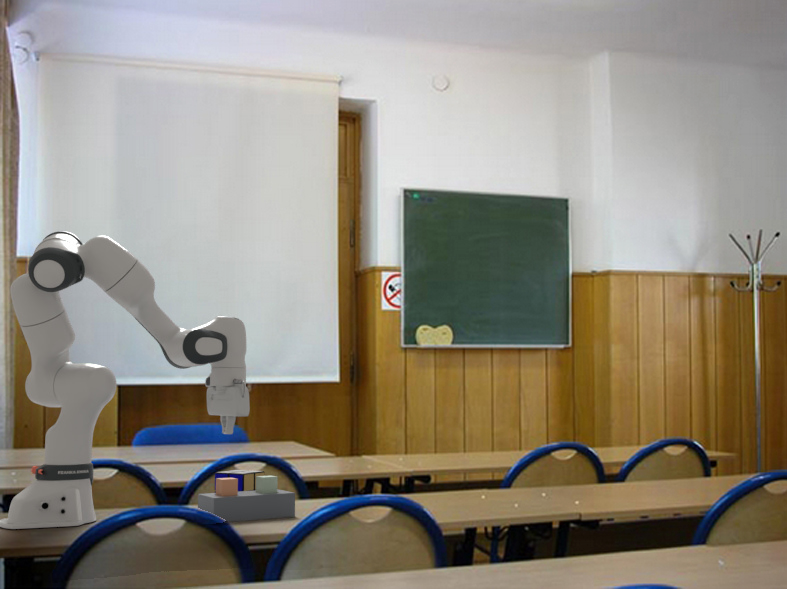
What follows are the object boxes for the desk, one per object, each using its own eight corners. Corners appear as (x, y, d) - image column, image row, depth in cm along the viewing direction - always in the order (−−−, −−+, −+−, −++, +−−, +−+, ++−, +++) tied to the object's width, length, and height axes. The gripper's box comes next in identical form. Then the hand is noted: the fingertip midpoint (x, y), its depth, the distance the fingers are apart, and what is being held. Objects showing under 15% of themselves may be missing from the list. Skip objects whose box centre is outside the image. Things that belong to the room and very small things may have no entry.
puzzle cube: (213, 509, 255) (214, 472, 256) (235, 505, 264) (236, 469, 265) (243, 511, 250) (243, 473, 251) (264, 507, 259) (265, 470, 260)
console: (213, 523, 227) (214, 498, 228) (197, 517, 237) (198, 493, 237) (294, 516, 239) (295, 492, 239) (276, 511, 248) (276, 489, 249)
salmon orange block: (221, 503, 232) (222, 479, 233) (215, 501, 236) (215, 478, 236) (237, 502, 235) (237, 478, 235) (231, 500, 238) (231, 477, 239)
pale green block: (262, 500, 238) (262, 477, 239) (255, 498, 242) (256, 476, 242) (277, 499, 240) (277, 476, 241) (270, 497, 244) (270, 475, 245)
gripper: (256, 379, 231) (255, 435, 230) (225, 380, 249) (224, 432, 247) (232, 379, 228) (231, 435, 227) (202, 379, 245) (201, 432, 244)
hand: (227, 434), depth 237 cm, fingers closed
